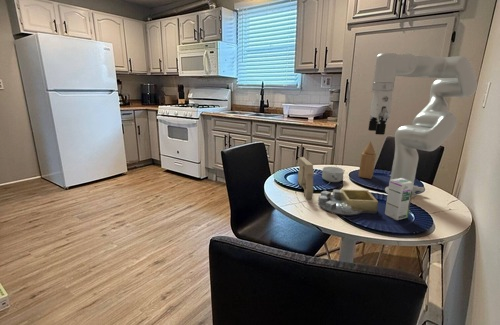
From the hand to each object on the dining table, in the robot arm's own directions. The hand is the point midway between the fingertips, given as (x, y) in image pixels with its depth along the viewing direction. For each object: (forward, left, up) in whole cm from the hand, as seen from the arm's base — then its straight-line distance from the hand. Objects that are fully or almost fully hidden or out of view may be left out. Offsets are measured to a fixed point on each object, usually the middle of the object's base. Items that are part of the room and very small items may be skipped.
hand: (375, 132), depth 106 cm
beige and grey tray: (+10, +6, -30) cm, 32 cm away
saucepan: (+9, -23, -30) cm, 39 cm away
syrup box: (-7, +13, -30) cm, 34 cm away
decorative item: (-11, -34, -30) cm, 47 cm away
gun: (+25, -11, -30) cm, 41 cm away
